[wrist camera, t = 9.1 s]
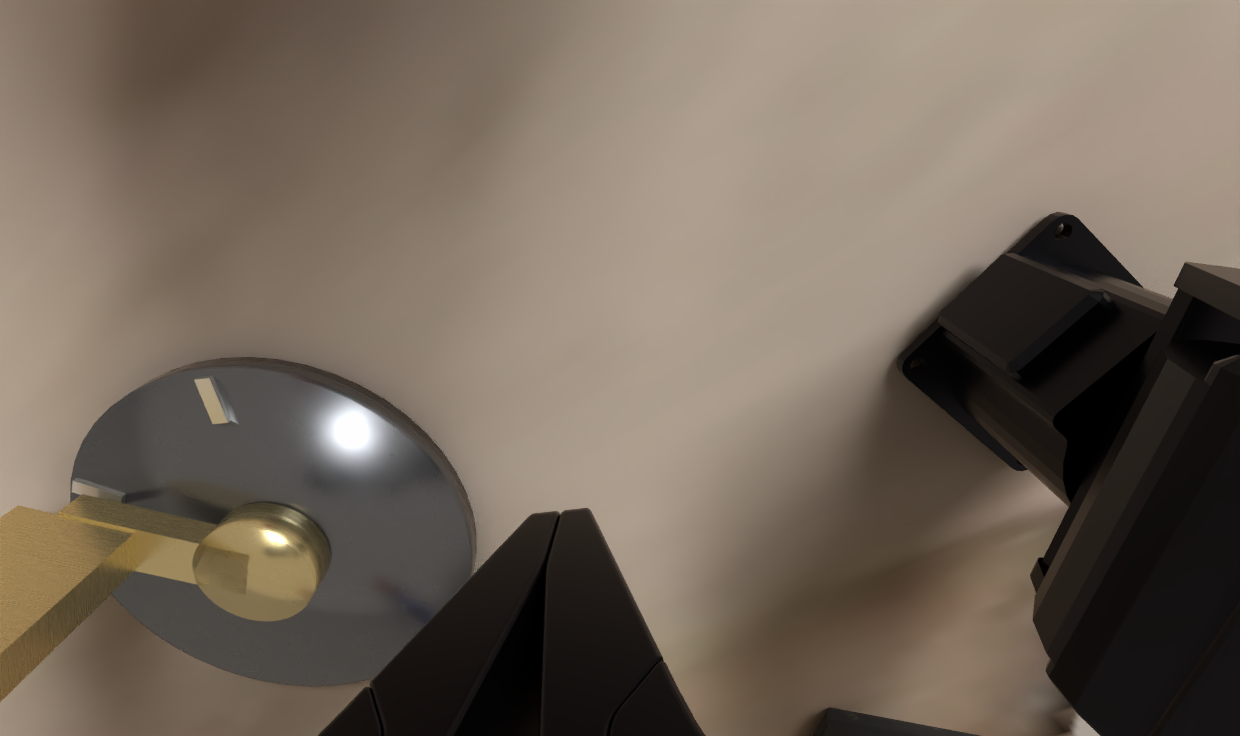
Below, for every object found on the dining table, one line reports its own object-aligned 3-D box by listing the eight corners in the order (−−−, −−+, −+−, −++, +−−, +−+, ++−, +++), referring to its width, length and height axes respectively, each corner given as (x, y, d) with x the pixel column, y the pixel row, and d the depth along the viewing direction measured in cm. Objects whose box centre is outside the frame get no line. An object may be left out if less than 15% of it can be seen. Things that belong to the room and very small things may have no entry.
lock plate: (507, 651, 26) (502, 676, 25) (181, 677, 27) (162, 702, 26) (429, 336, 20) (418, 350, 19) (20, 379, 21) (-13, 394, 20)
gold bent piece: (337, 518, 22) (152, 792, 13) (324, 602, 24) (152, 896, 15) (52, 451, 21) (-347, 702, 12) (59, 544, 22) (-292, 824, 14)
